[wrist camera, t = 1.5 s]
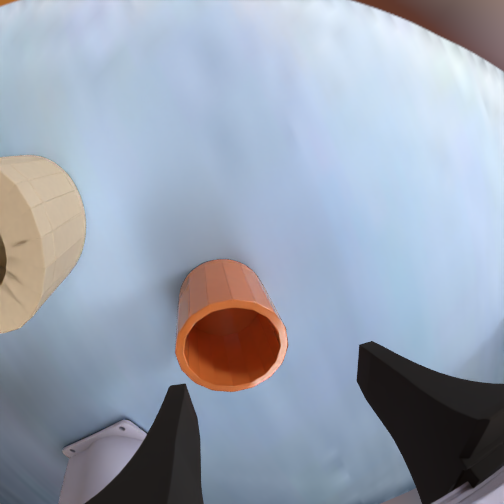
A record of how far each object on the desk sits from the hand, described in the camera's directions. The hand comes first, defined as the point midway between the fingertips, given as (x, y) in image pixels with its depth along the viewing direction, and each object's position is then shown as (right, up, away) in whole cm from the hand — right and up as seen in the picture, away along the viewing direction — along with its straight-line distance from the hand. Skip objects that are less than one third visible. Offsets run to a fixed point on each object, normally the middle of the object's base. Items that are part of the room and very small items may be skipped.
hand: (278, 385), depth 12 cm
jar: (-15, +7, +4) cm, 17 cm away
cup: (-3, +2, +7) cm, 8 cm away
